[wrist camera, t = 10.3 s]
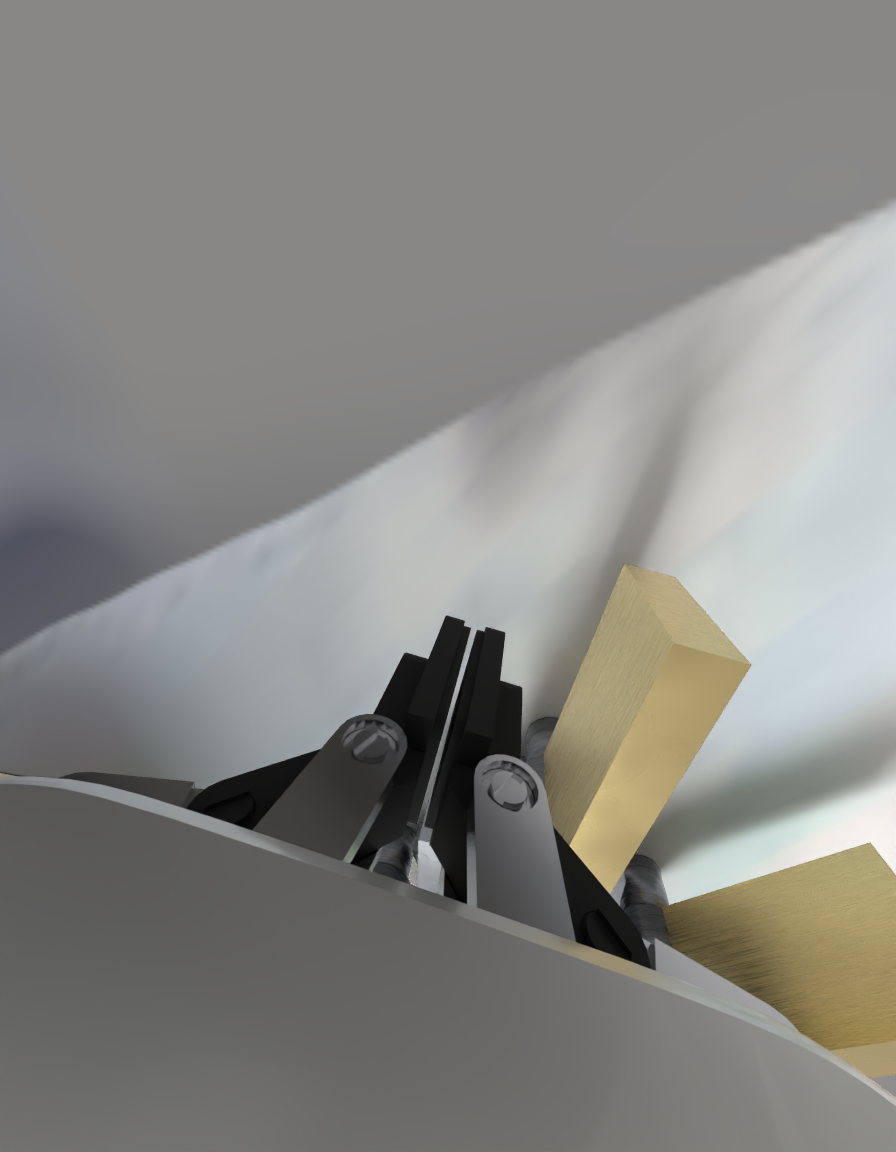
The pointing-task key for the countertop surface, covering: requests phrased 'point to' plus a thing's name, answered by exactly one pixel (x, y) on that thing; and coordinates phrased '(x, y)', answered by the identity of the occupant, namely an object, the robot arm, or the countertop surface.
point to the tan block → (633, 718)
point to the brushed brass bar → (794, 945)
